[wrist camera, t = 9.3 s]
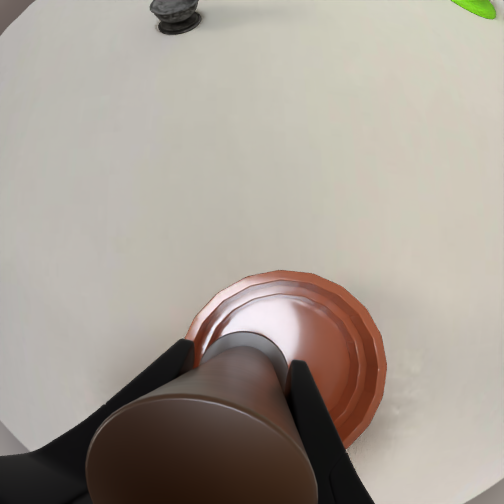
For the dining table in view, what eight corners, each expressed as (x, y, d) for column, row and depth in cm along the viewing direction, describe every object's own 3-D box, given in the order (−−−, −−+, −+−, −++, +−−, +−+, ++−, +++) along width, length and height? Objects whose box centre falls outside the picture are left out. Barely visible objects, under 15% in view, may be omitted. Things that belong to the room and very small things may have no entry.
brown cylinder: (247, 430, 15) (218, 626, 2) (183, 374, 16) (4, 459, 3) (305, 369, 16) (437, 471, 3) (240, 313, 16) (177, 252, 4)
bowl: (283, 472, 20) (288, 503, 15) (161, 368, 22) (137, 377, 17) (392, 355, 22) (422, 359, 17) (273, 249, 24) (277, 228, 19)
